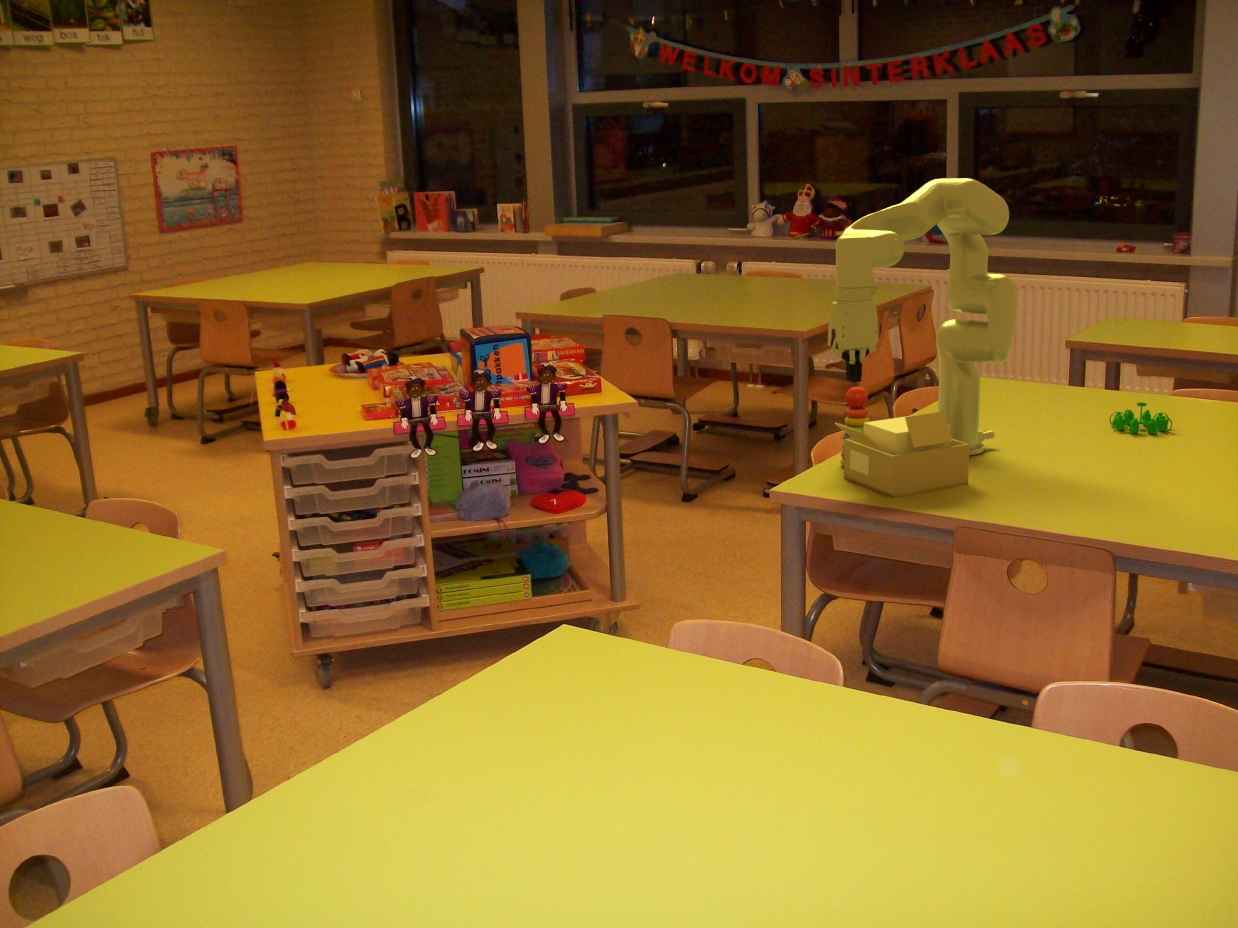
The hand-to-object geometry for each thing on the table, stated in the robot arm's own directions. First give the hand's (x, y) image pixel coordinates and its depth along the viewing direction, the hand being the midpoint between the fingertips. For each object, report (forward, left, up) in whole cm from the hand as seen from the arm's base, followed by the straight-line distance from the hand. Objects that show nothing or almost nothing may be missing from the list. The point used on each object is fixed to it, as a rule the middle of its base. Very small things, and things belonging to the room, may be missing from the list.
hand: (853, 381), depth 259 cm
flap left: (-15, +6, -11) cm, 20 cm away
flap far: (-1, 0, -12) cm, 12 cm away
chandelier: (-92, -9, -25) cm, 96 cm away
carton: (-14, 0, -24) cm, 28 cm away
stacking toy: (-12, -16, -24) cm, 31 cm away
